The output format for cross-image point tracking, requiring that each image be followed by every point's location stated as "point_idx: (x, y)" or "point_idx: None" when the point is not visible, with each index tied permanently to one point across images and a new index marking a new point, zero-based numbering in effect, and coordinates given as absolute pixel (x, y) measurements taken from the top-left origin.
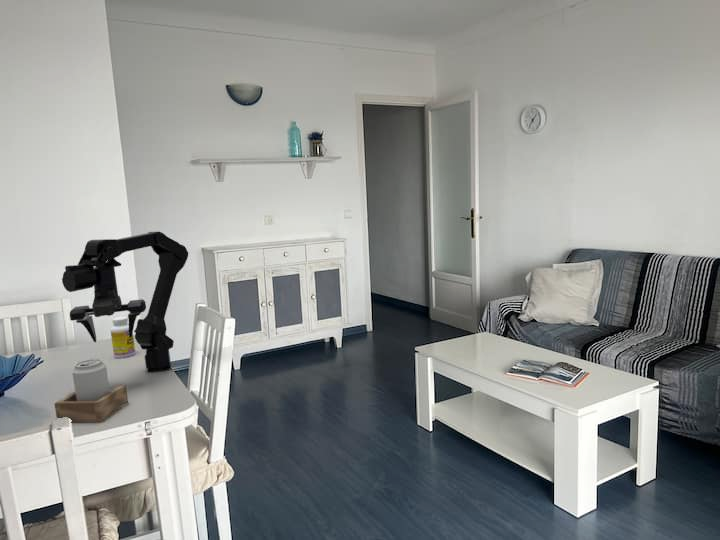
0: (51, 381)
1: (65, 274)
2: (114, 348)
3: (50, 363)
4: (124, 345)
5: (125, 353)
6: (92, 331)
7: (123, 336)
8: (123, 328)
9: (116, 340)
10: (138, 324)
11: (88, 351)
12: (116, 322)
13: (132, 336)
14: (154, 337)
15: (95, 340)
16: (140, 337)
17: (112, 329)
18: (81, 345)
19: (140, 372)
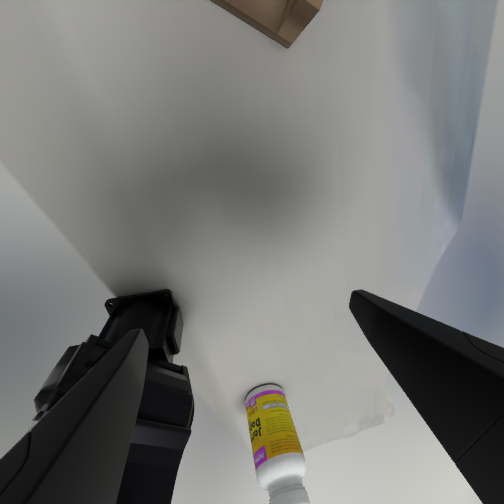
0: (382, 290)
1: None
2: (285, 406)
3: (382, 374)
4: (265, 414)
5: (260, 394)
6: (432, 337)
7: (270, 441)
8: (274, 470)
9: (284, 427)
10: (162, 487)
11: (330, 413)
12: (296, 493)
13: (252, 445)
14: (63, 387)
15: (359, 297)
16: (158, 395)
17: (301, 464)
18: (342, 433)
19: (195, 297)
